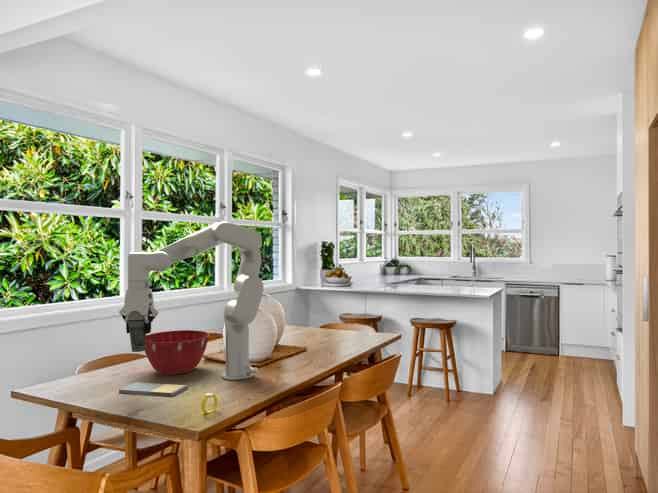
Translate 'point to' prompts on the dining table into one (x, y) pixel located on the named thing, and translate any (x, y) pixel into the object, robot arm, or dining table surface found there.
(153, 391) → the grey yellow flat slab
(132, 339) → the beverage cup
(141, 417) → the dining table surface
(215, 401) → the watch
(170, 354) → the mixing bowl
